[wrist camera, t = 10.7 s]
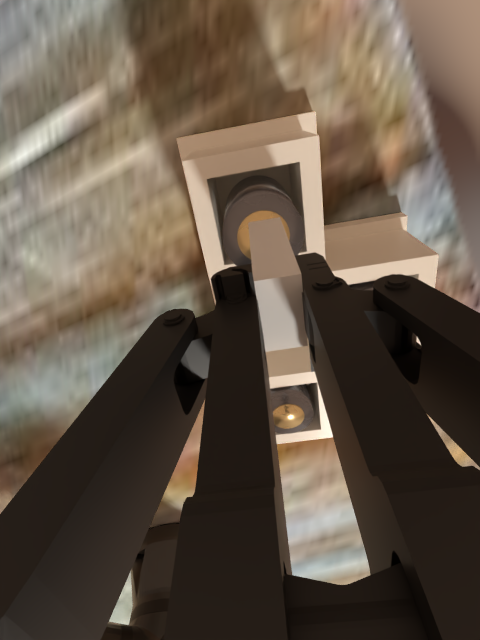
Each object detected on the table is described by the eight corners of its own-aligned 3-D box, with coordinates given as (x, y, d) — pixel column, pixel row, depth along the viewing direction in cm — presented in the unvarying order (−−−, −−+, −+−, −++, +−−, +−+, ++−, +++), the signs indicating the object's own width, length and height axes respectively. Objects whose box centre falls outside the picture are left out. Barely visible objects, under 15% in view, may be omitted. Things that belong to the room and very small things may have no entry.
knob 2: (261, 391, 37) (265, 437, 32) (255, 357, 35) (258, 401, 30) (304, 385, 37) (315, 431, 31) (300, 350, 35) (312, 394, 29)
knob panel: (239, 402, 40) (240, 455, 34) (178, 137, 27) (160, 145, 20) (391, 382, 39) (421, 433, 33) (408, 92, 25) (463, 86, 19)
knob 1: (231, 245, 26) (230, 281, 20) (219, 181, 23) (214, 202, 18) (293, 235, 25) (307, 268, 20) (286, 169, 23) (301, 187, 18)
